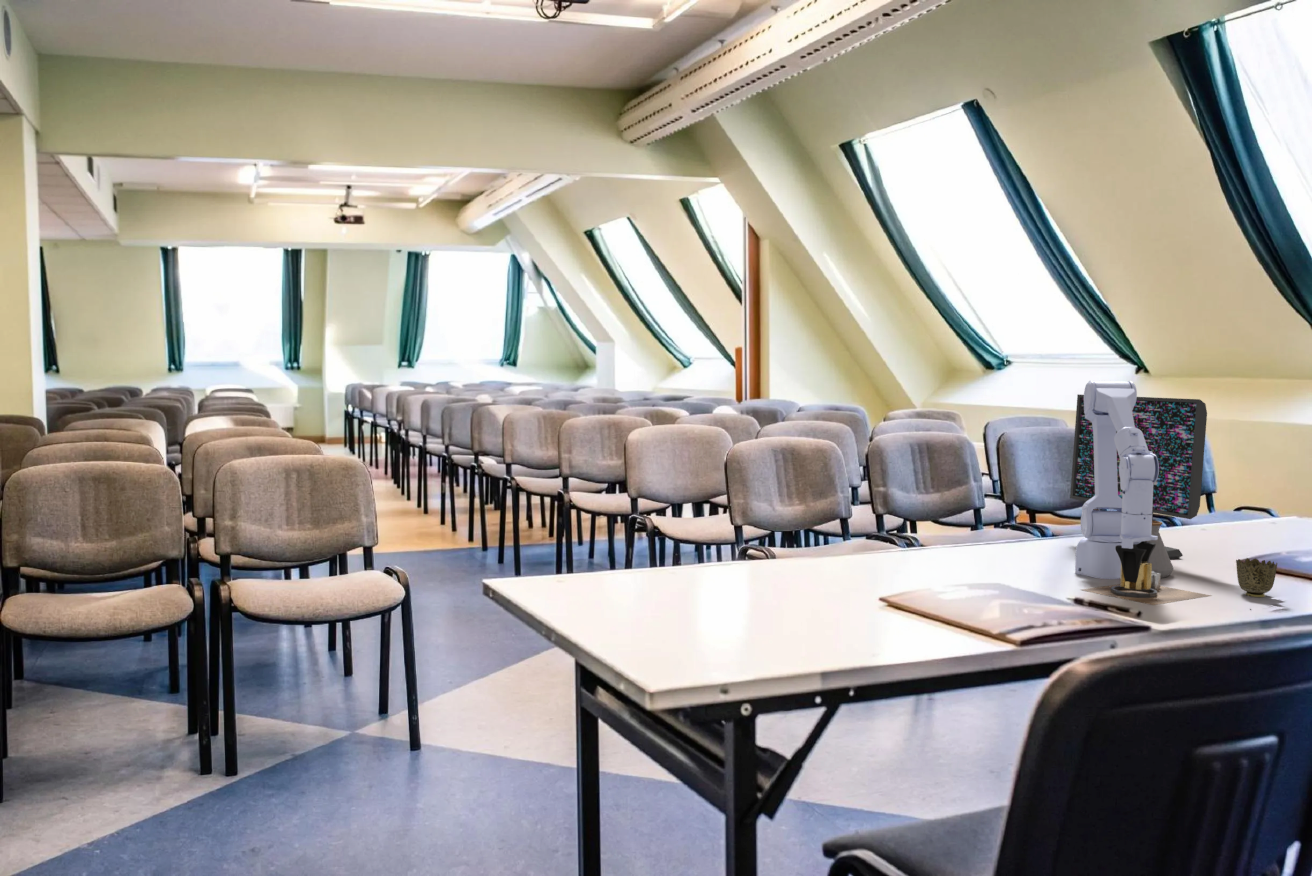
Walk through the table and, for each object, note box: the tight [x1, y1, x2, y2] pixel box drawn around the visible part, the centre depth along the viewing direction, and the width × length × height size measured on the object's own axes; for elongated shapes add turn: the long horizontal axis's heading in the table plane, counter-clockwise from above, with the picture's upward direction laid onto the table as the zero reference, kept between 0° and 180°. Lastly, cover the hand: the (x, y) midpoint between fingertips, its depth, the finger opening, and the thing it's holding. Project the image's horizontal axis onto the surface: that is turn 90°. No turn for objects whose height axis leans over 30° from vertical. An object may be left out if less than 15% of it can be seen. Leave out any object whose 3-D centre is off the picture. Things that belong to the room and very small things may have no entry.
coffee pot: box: [1093, 509, 1174, 579], centre depth 258 cm, size 21×12×15 cm, turn 33°
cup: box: [1235, 557, 1278, 598], centre depth 231 cm, size 8×7×8 cm
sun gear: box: [1151, 571, 1161, 590], centre depth 239 cm, size 7×7×4 cm
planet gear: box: [1119, 561, 1152, 590], centre depth 231 cm, size 6×6×5 cm
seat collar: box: [1111, 586, 1157, 598], centre depth 231 cm, size 9×9×1 cm
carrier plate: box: [1081, 583, 1213, 606], centre depth 233 cm, size 17×19×1 cm
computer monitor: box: [1069, 393, 1208, 560], centre depth 286 cm, size 44×16×40 cm, turn 17°
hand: (1134, 579), depth 231 cm, fingers closed on planet gear, 5 cm apart
